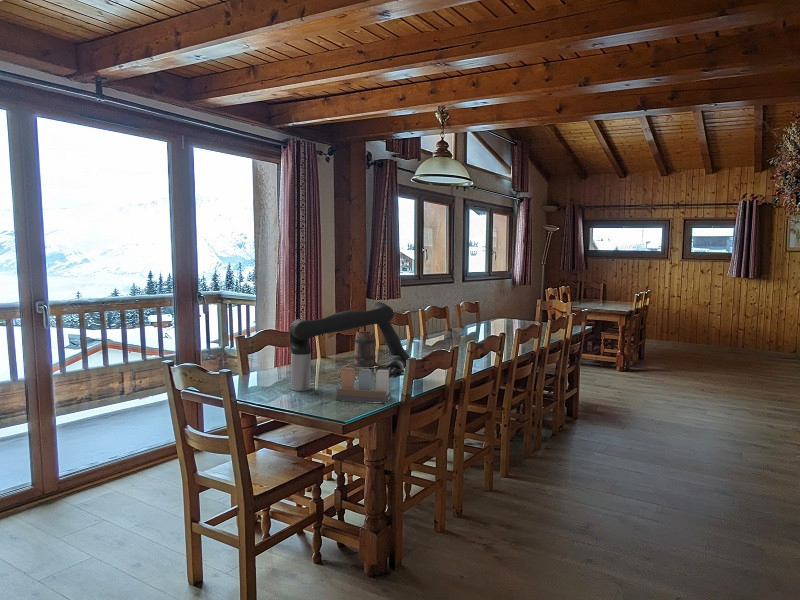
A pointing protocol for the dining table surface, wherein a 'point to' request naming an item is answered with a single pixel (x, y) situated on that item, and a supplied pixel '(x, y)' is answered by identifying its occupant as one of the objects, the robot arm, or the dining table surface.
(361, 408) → the dining table surface
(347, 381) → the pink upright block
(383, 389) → the cream key
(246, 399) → the dining table surface
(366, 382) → the blue-grey key
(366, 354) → the tankard
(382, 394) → the key bed
